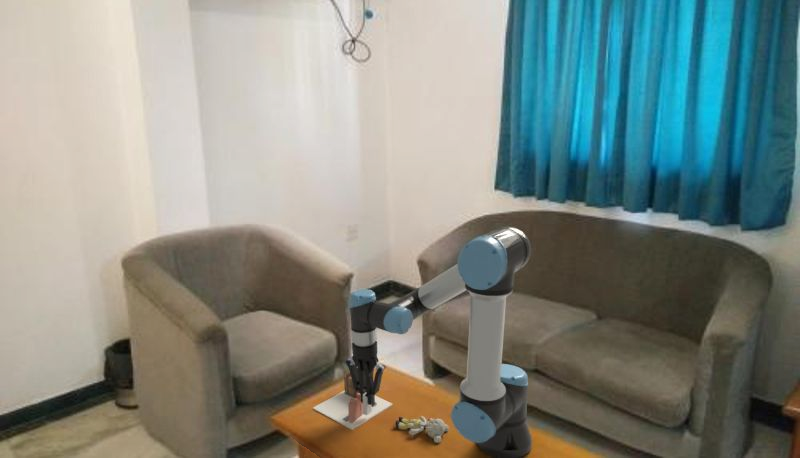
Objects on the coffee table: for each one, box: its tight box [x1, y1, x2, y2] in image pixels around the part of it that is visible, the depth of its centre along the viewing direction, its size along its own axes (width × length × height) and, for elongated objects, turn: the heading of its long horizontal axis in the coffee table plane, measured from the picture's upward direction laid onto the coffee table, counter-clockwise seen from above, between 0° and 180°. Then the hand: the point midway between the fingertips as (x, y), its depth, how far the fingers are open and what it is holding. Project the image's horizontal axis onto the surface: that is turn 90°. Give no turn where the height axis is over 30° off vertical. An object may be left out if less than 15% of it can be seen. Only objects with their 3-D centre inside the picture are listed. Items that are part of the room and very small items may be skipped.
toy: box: [394, 415, 450, 444], centre depth 174 cm, size 9×6×15 cm
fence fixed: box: [343, 372, 376, 406], centre depth 191 cm, size 13×2×8 cm, turn 48°
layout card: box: [312, 390, 394, 430], centre depth 188 cm, size 18×18×1 cm
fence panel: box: [348, 393, 363, 423], centre depth 181 cm, size 10×1×7 cm, turn 151°
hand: (367, 412), depth 180 cm, fingers closed
